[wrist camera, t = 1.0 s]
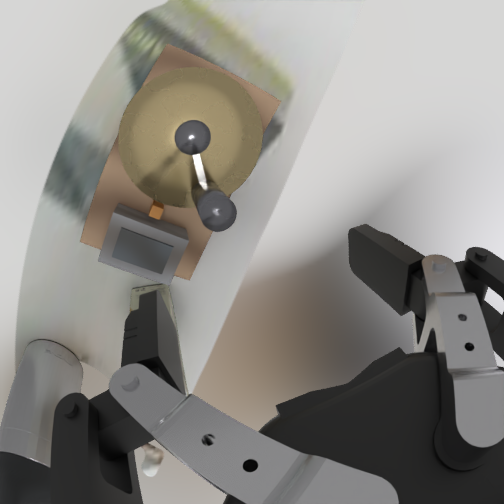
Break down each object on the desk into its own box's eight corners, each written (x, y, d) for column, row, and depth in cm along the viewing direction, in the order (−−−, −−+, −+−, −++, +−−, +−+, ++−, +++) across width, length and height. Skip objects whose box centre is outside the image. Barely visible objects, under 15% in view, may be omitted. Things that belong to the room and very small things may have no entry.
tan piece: (188, 273, 31) (193, 297, 27) (83, 236, 25) (71, 255, 21) (275, 102, 26) (295, 99, 22) (167, 47, 20) (168, 32, 16)
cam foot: (266, 184, 27) (304, 206, 20) (144, 220, 25) (137, 257, 18) (241, 61, 21) (273, 37, 15) (108, 94, 19) (84, 80, 12)
